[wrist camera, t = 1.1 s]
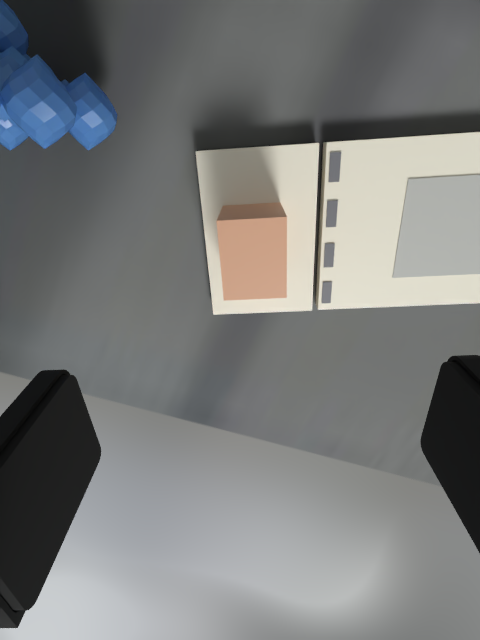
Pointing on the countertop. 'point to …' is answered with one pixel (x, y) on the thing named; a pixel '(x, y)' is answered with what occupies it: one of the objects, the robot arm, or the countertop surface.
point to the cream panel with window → (399, 222)
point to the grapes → (45, 96)
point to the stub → (260, 226)
